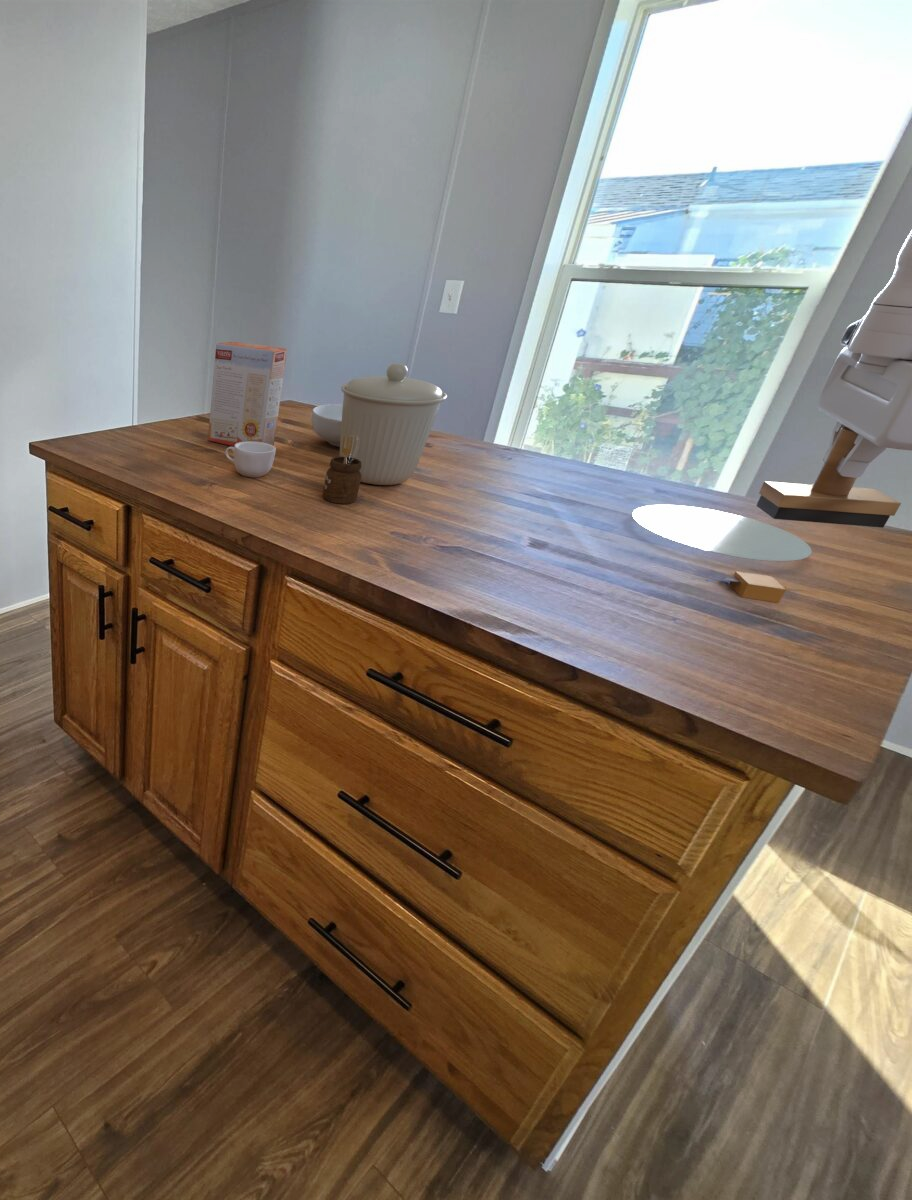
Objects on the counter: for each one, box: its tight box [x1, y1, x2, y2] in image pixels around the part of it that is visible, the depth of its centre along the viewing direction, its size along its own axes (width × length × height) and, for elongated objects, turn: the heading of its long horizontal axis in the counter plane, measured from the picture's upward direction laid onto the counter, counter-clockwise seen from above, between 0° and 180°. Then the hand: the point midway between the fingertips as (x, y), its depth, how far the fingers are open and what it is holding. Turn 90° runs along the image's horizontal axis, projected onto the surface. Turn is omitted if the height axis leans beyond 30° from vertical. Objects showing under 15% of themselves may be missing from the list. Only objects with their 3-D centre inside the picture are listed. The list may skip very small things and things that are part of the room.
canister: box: [339, 363, 448, 486], centre depth 122 cm, size 18×18×21 cm
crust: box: [728, 571, 787, 603], centre depth 87 cm, size 4×4×2 cm
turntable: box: [631, 504, 813, 562], centre depth 103 cm, size 22×22×2 cm
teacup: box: [224, 441, 277, 479], centre depth 127 cm, size 10×8×5 cm
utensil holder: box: [322, 435, 362, 505], centre depth 113 cm, size 6×6×12 cm
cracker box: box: [207, 341, 288, 447], centre depth 140 cm, size 14×6×21 cm, turn 46°
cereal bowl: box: [311, 403, 343, 448], centre depth 146 cm, size 17×17×7 cm
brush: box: [756, 427, 902, 529], centre depth 73 cm, size 10×5×10 cm, turn 69°
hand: (839, 470), depth 73 cm, fingers closed on brush, 3 cm apart
